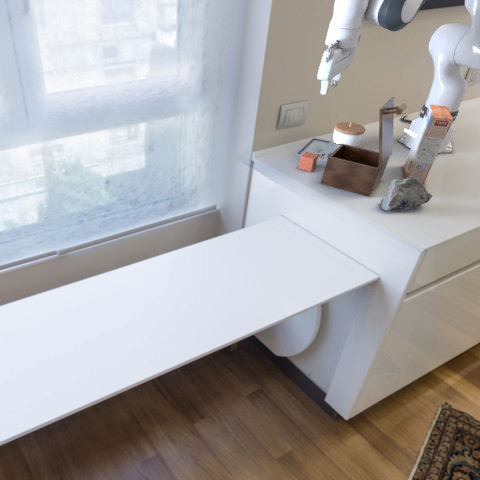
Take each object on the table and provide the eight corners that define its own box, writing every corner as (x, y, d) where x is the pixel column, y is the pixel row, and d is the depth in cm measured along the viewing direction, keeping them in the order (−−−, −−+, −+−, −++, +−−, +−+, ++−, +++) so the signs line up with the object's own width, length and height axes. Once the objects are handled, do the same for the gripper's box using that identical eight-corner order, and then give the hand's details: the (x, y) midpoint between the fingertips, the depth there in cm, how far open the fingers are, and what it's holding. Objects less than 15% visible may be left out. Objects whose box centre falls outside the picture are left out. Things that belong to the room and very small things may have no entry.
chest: (320, 183, 144) (328, 156, 138) (334, 169, 153) (341, 143, 147) (369, 196, 138) (379, 169, 132) (380, 180, 146) (390, 154, 140)
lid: (379, 109, 123) (399, 106, 120) (391, 97, 131) (410, 94, 128) (378, 168, 132) (397, 167, 129) (389, 153, 140) (407, 152, 137)
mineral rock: (426, 206, 134) (441, 174, 127) (424, 222, 127) (439, 189, 120) (382, 196, 138) (394, 165, 131) (377, 211, 131) (390, 179, 124)
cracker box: (424, 185, 144) (454, 119, 130) (404, 182, 146) (432, 116, 131) (421, 168, 154) (449, 105, 140) (403, 166, 155) (428, 103, 141)
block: (303, 164, 155) (306, 151, 152) (315, 167, 153) (318, 154, 150) (298, 168, 153) (301, 155, 149) (310, 171, 151) (314, 159, 148)
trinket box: (360, 154, 162) (369, 128, 156) (330, 152, 164) (338, 126, 157) (356, 143, 170) (364, 118, 164) (328, 141, 171) (335, 116, 165)
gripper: (341, 45, 118) (327, 100, 128) (362, 34, 131) (348, 85, 140) (319, 42, 121) (306, 96, 130) (342, 31, 134) (329, 81, 143)
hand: (328, 90), depth 135 cm, fingers open, 8 cm apart
